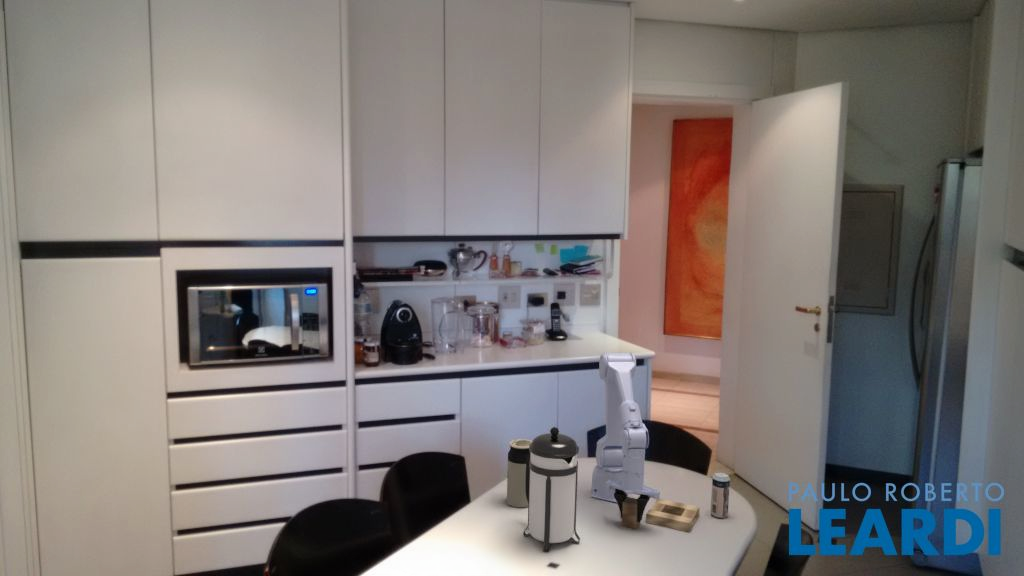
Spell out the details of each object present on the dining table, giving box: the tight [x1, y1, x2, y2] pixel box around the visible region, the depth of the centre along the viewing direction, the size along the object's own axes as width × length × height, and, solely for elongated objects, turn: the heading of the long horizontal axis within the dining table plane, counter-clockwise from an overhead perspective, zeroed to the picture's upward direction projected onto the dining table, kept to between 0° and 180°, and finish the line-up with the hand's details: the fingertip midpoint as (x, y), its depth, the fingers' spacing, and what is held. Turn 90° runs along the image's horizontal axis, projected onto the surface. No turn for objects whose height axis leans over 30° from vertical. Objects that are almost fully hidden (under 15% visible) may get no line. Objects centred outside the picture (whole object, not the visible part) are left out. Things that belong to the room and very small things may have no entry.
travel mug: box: [506, 438, 533, 509], centre depth 198 cm, size 8×8×18 cm
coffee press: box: [522, 426, 581, 553], centre depth 176 cm, size 17×16×30 cm
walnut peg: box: [621, 496, 641, 531], centre depth 186 cm, size 4×4×7 cm
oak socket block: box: [645, 498, 701, 533], centre depth 191 cm, size 12×12×2 cm
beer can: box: [710, 471, 731, 519], centre depth 193 cm, size 5×5×12 cm
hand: (631, 518), depth 186 cm, fingers closed on walnut peg, 4 cm apart
